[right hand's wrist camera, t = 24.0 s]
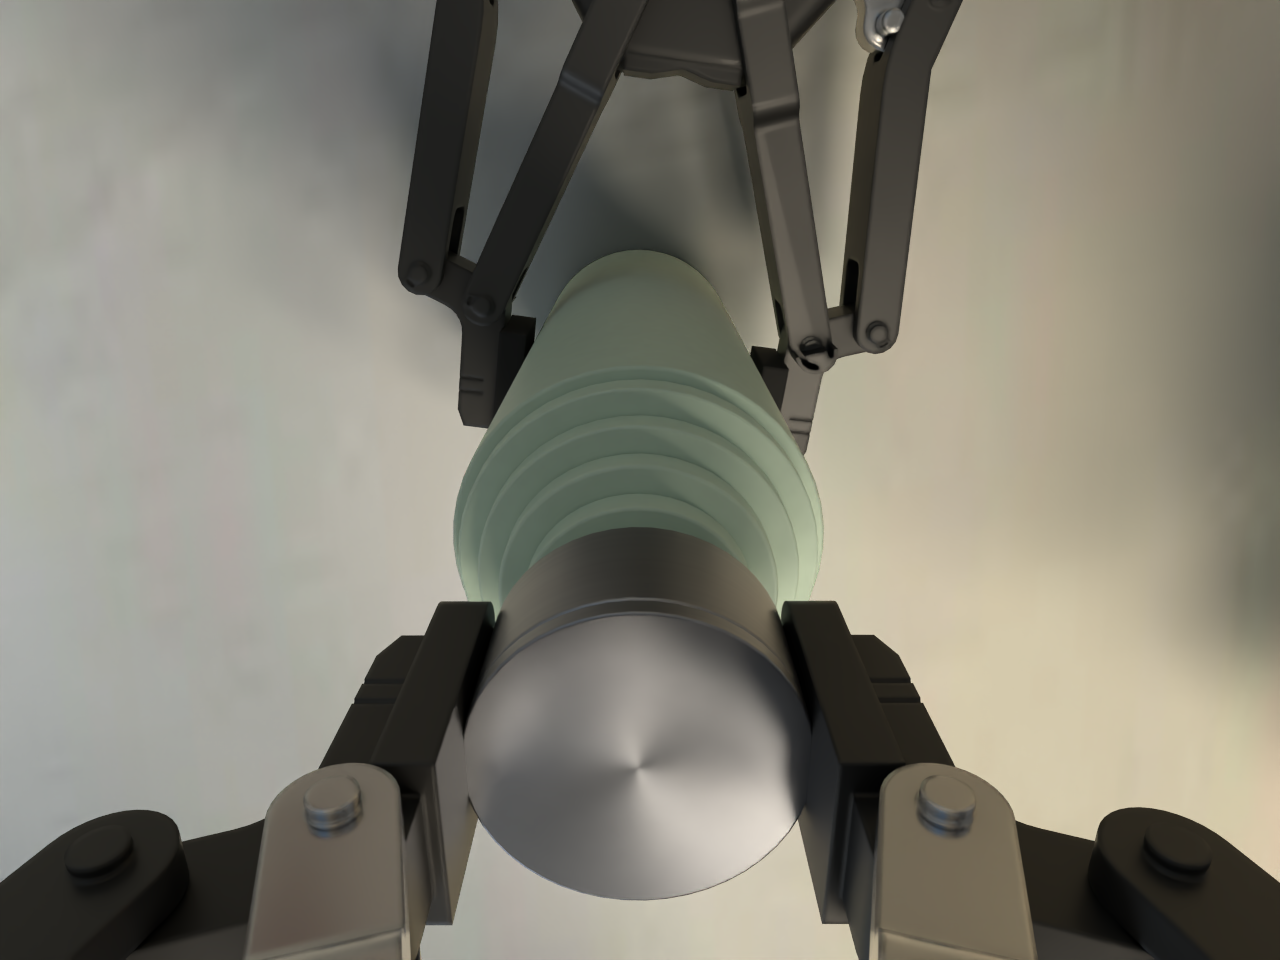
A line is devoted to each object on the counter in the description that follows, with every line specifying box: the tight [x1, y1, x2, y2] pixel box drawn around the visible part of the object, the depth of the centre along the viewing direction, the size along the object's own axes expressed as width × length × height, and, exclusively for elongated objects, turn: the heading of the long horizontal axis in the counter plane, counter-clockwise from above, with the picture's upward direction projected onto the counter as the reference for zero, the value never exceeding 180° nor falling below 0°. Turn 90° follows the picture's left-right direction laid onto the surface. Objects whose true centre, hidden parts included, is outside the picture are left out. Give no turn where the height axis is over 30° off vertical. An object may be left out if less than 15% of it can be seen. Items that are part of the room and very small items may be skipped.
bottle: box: [454, 250, 824, 622], centre depth 22 cm, size 7×7×23 cm
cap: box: [463, 527, 812, 900], centre depth 11 cm, size 4×4×2 cm
